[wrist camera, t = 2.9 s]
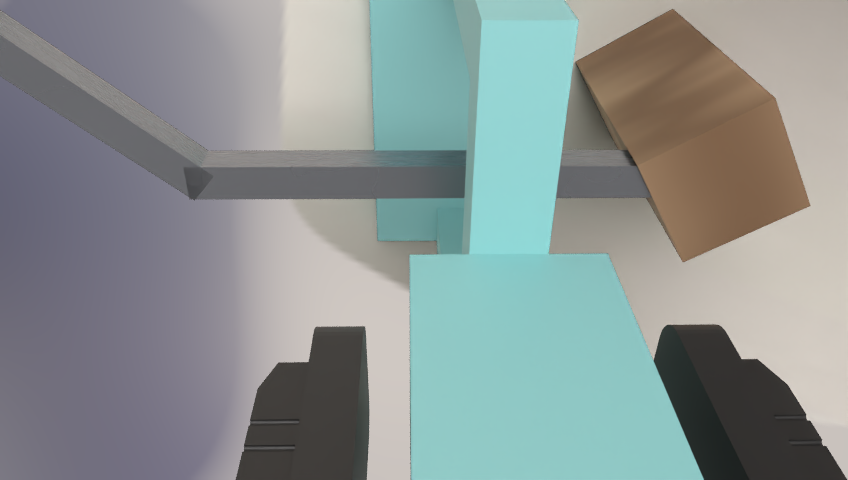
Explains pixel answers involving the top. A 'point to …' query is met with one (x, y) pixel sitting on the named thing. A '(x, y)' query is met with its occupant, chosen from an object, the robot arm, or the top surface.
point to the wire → (268, 170)
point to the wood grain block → (695, 133)
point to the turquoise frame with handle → (508, 260)
